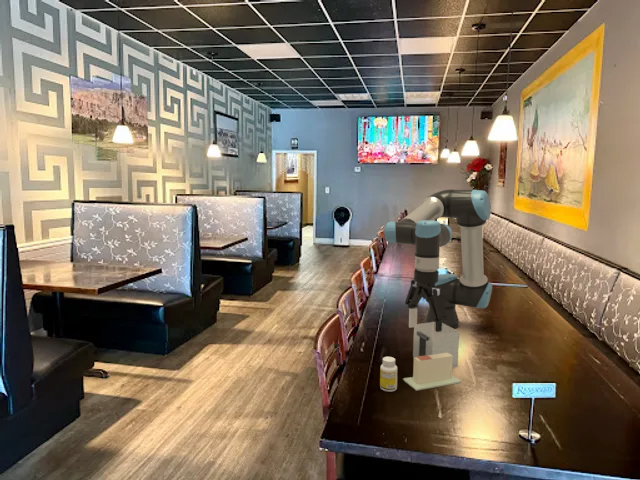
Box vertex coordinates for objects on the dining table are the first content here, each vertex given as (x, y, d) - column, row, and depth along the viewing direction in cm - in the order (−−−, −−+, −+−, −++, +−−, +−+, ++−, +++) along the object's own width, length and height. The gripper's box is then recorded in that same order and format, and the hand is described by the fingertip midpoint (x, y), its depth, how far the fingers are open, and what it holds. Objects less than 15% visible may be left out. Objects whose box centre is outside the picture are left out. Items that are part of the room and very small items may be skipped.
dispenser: (437, 354, 170) (439, 321, 168) (457, 366, 159) (459, 331, 157) (411, 358, 166) (412, 324, 164) (429, 371, 155) (431, 335, 153)
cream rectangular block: (446, 375, 150) (447, 351, 149) (451, 378, 148) (452, 355, 146) (412, 380, 146) (413, 357, 145) (417, 384, 143) (418, 360, 142)
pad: (446, 372, 153) (446, 371, 153) (460, 382, 146) (460, 381, 146) (403, 379, 148) (403, 378, 148) (416, 390, 140) (416, 389, 140)
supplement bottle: (385, 382, 146) (386, 354, 144) (400, 387, 142) (401, 358, 141) (376, 388, 141) (377, 359, 140) (391, 393, 138) (392, 363, 137)
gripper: (396, 262, 151) (394, 322, 154) (439, 278, 128) (436, 348, 131) (415, 261, 153) (413, 320, 156) (461, 276, 130) (457, 345, 133)
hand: (424, 333), depth 144 cm, fingers open, 13 cm apart
